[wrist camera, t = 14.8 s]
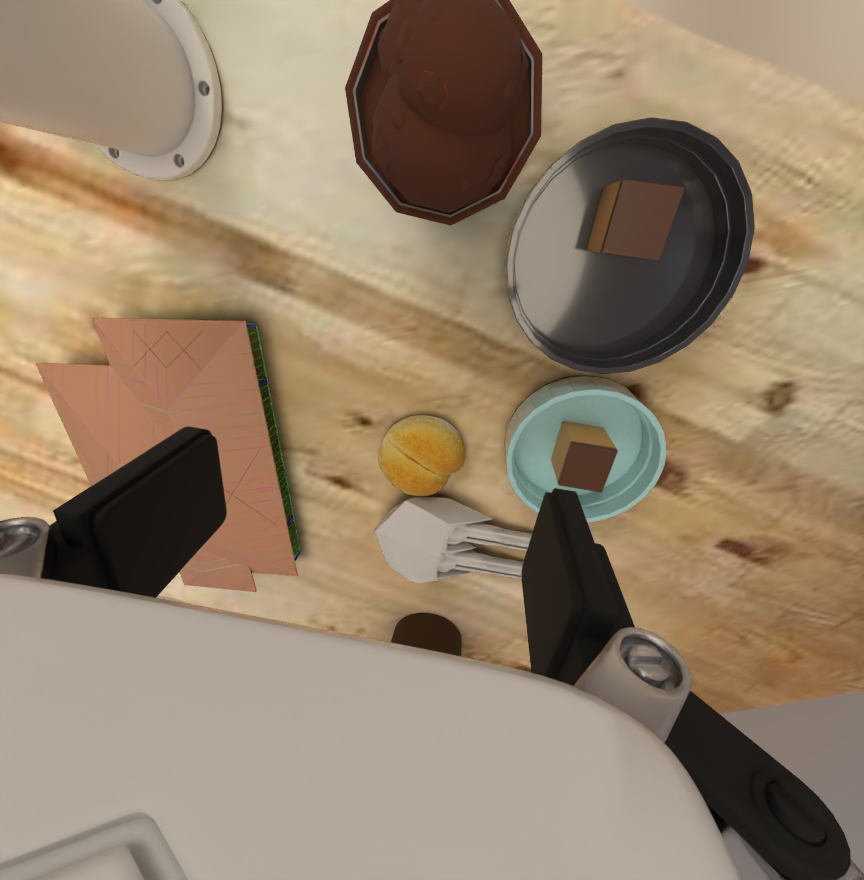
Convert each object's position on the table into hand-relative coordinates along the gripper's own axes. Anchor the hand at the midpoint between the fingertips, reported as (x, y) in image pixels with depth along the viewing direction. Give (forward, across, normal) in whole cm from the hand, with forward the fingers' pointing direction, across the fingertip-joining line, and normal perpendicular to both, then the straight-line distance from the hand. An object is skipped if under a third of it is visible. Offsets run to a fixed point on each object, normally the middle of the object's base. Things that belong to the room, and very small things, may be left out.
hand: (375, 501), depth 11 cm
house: (+28, +27, +20) cm, 44 cm away
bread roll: (+28, +1, +14) cm, 32 cm away
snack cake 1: (+28, -14, +10) cm, 33 cm away
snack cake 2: (+28, -12, -9) cm, 32 cm away
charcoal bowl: (+28, -12, -6) cm, 31 cm away
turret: (+28, -5, +24) cm, 38 cm away
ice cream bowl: (+28, +2, -13) cm, 31 cm away
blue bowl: (+28, -14, +10) cm, 33 cm away
